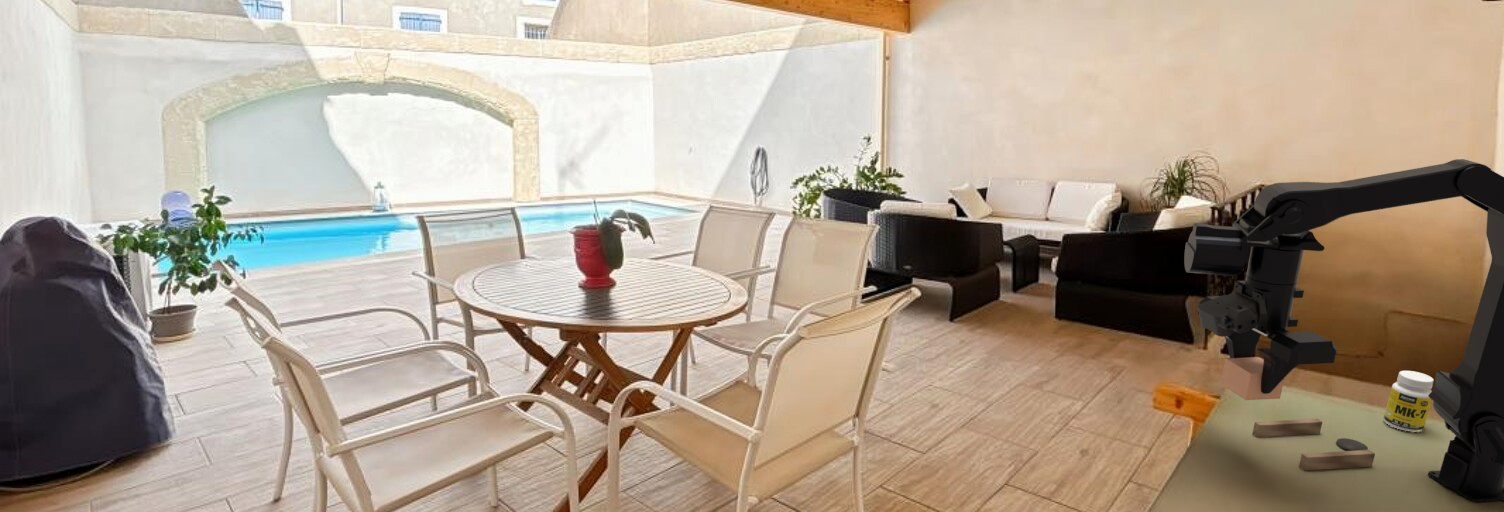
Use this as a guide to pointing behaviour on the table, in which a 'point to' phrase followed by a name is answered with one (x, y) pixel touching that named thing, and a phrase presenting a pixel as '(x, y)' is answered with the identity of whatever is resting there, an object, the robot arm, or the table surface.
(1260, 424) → the channel
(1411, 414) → the supplement bottle
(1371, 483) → the table surface
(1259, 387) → the terracotta block
